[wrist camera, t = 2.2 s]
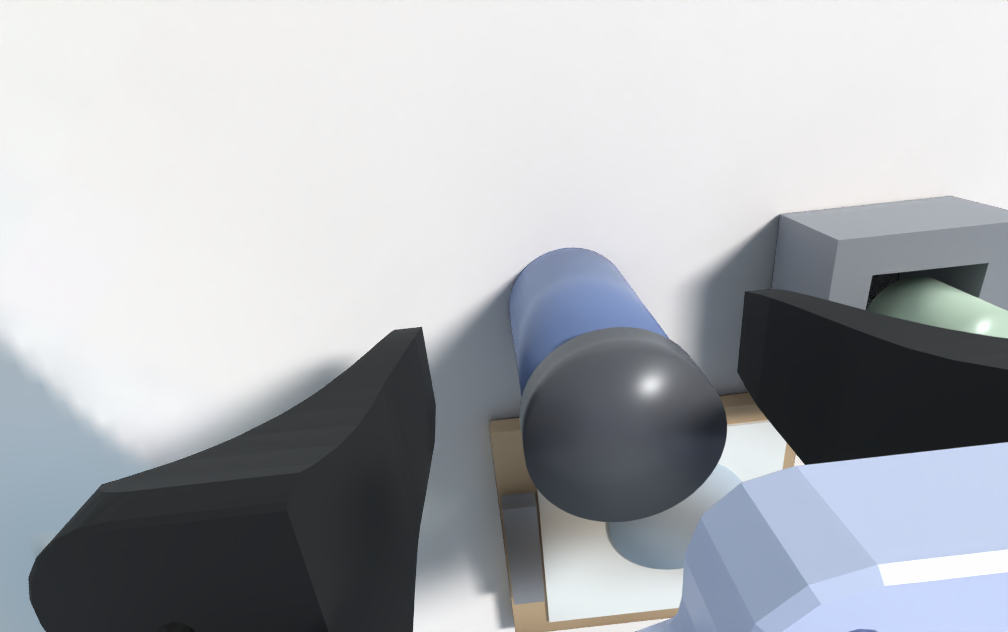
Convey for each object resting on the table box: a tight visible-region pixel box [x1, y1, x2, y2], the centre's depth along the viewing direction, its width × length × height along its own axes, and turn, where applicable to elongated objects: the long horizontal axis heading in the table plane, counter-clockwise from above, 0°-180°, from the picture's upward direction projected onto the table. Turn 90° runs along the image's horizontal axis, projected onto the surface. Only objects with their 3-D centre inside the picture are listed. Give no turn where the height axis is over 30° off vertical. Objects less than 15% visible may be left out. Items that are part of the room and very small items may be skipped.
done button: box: [867, 275, 1008, 338], centre depth 12 cm, size 2×2×2 cm
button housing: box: [771, 196, 1008, 311], centre depth 13 cm, size 4×4×2 cm
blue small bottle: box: [509, 248, 727, 522], centre depth 12 cm, size 3×3×6 cm
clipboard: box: [489, 393, 796, 632], centre depth 17 cm, size 9×9×1 cm
